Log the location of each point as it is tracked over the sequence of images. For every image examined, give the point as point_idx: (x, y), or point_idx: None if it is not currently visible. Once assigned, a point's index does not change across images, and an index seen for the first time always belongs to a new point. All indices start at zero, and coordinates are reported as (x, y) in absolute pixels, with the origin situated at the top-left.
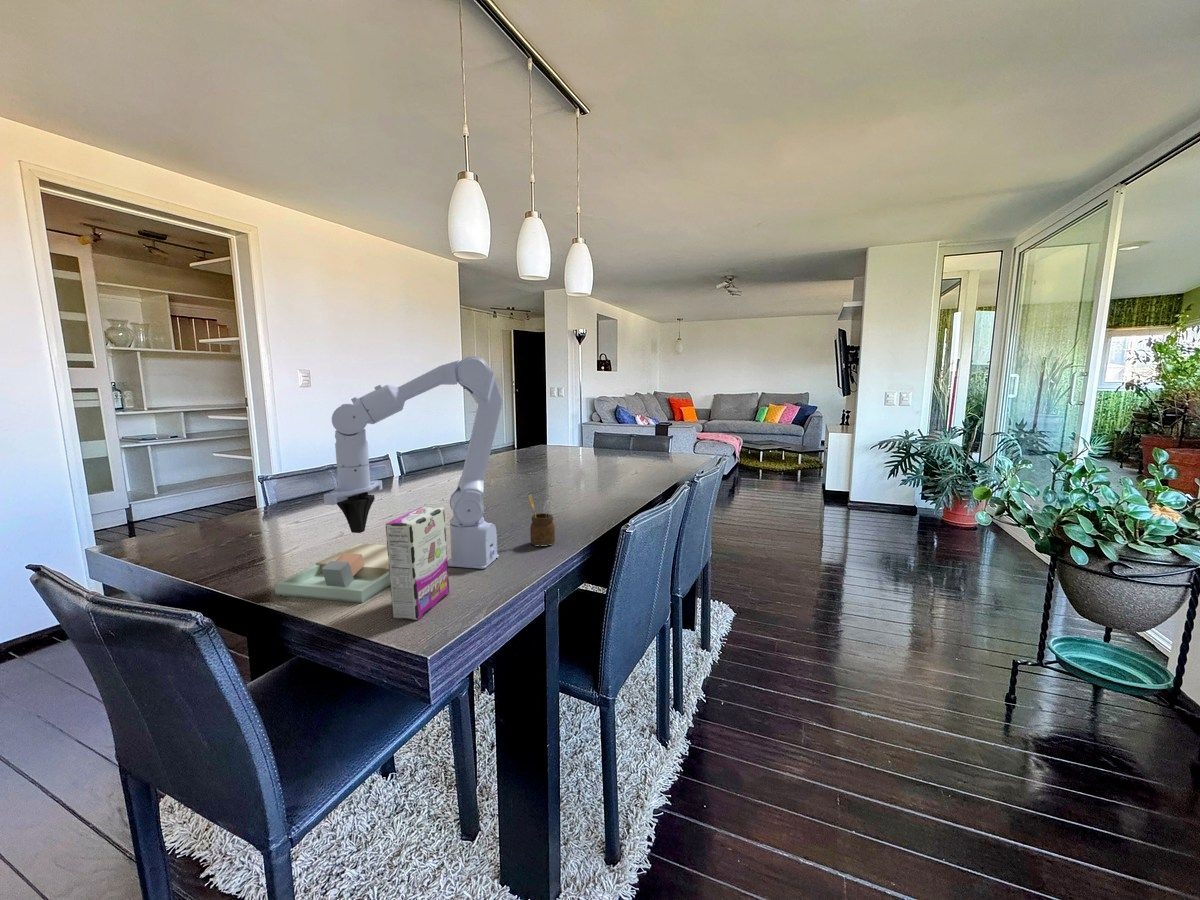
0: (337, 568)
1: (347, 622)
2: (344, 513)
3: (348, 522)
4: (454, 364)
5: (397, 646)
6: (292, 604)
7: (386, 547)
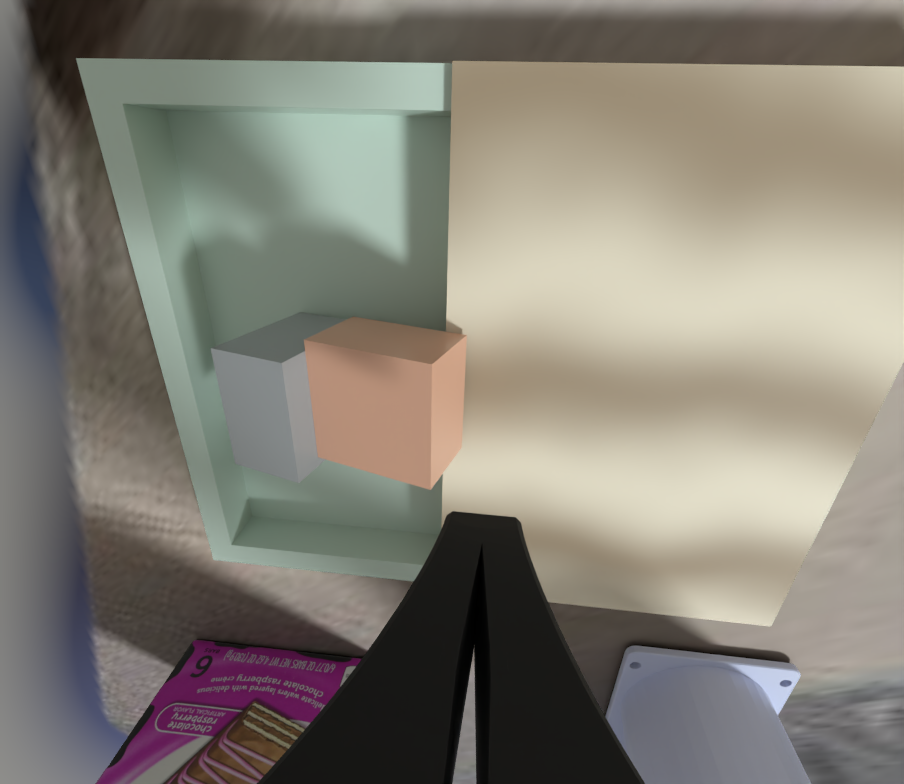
0: (242, 442)
1: (121, 548)
2: (316, 728)
3: (410, 595)
4: None
5: (101, 684)
6: (113, 273)
7: (834, 395)
